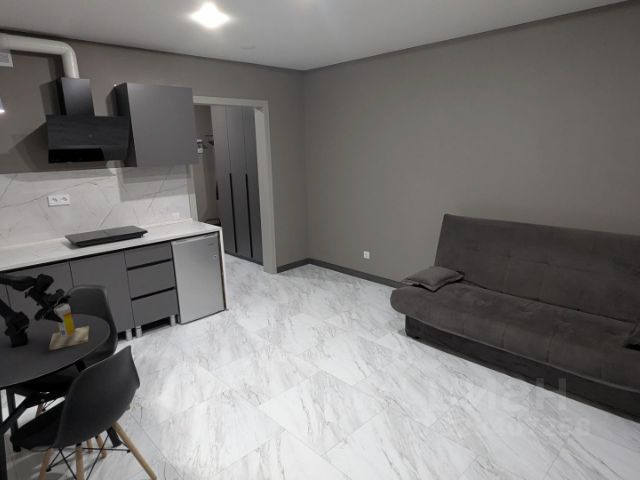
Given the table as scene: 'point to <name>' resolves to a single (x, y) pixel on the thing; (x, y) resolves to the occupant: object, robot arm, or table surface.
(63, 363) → the table surface
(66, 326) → the beer can
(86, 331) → the birch board
